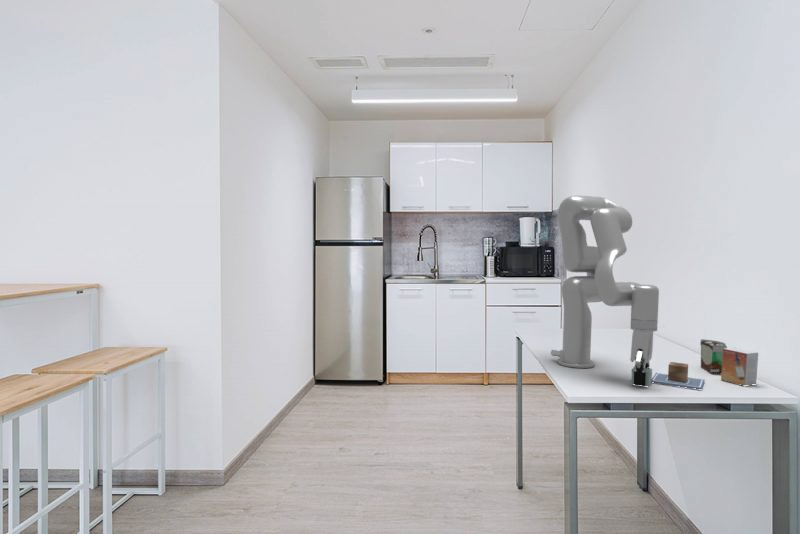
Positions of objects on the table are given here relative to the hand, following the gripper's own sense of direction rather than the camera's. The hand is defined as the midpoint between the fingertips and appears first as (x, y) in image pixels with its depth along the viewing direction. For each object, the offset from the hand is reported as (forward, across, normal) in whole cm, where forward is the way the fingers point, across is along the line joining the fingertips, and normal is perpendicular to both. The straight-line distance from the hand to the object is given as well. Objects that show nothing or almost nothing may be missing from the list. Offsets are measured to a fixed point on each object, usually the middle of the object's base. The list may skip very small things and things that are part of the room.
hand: (641, 381), depth 163 cm
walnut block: (0, -10, +9) cm, 13 cm away
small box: (+1, -22, +25) cm, 33 cm away
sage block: (+1, 0, 0) cm, 1 cm away
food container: (+1, -35, +18) cm, 39 cm away
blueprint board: (+1, -10, +9) cm, 13 cm away
